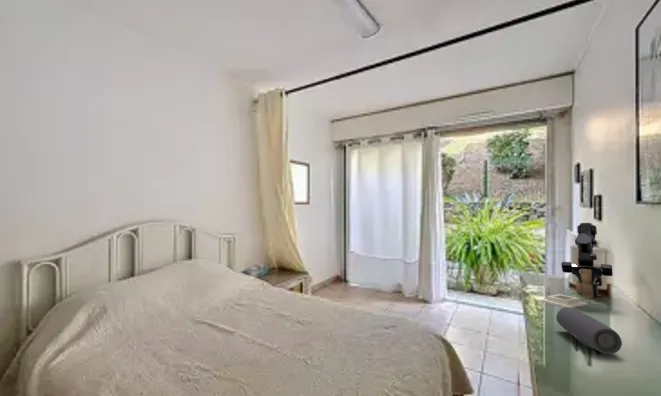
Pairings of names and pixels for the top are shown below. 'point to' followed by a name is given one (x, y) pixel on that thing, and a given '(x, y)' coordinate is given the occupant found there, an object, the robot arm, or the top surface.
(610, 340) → the bluetooth speaker
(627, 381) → the top surface
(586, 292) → the dowel
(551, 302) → the socket
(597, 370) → the top surface
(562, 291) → the white cup
